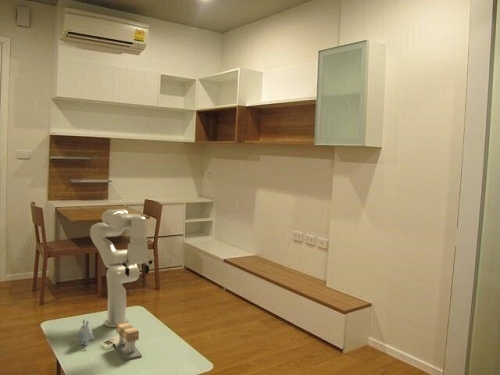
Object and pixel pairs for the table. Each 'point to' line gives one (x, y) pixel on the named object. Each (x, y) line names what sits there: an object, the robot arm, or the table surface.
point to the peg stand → (127, 349)
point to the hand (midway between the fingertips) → (137, 274)
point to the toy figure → (85, 333)
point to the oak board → (127, 331)
